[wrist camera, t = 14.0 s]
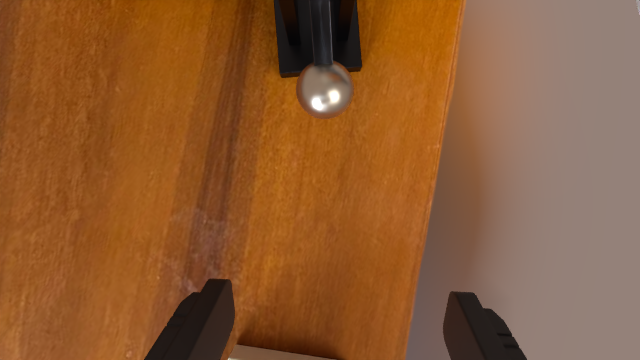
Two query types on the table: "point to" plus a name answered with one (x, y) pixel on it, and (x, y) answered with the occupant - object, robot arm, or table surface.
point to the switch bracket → (298, 35)
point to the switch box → (267, 354)
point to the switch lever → (323, 70)
